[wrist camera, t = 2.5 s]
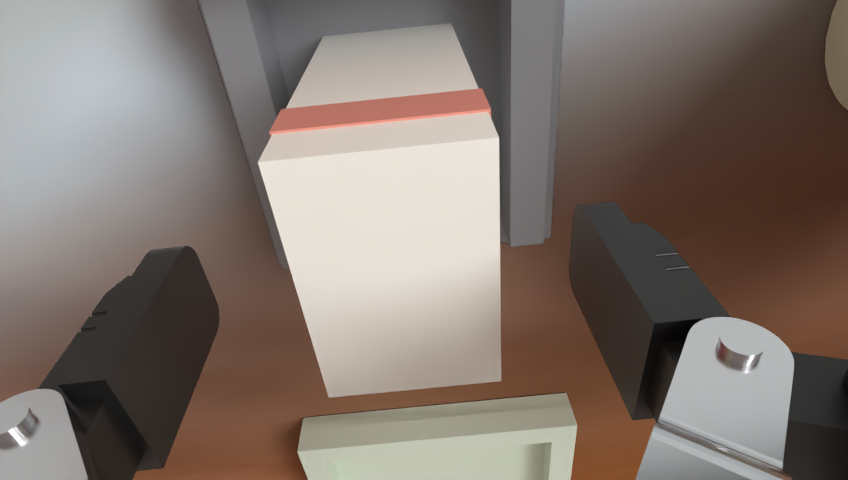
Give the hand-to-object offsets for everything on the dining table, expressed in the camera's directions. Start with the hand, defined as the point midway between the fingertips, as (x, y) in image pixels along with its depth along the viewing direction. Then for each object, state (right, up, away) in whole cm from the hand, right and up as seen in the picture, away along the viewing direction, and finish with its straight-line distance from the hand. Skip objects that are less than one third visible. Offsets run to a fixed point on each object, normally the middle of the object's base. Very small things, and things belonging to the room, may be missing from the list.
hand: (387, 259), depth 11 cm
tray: (+2, -14, +20) cm, 25 cm away
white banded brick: (0, +4, +7) cm, 8 cm away
